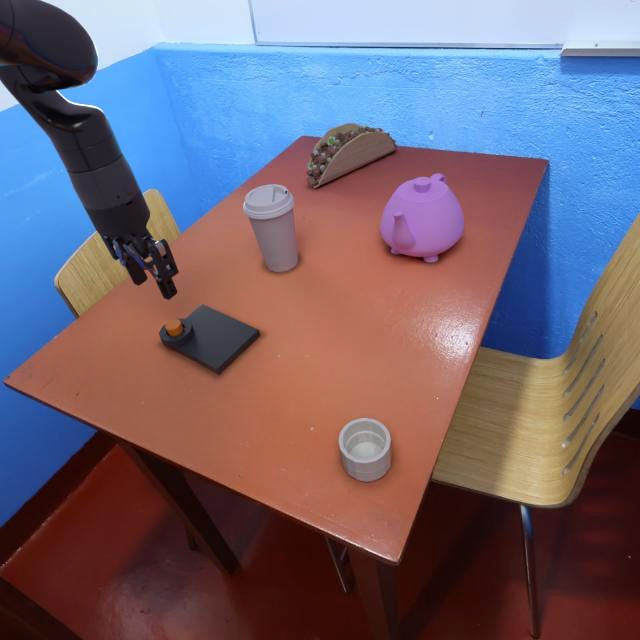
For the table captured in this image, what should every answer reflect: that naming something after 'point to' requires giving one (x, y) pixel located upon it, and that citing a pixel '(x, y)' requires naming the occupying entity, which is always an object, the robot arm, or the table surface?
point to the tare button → (174, 327)
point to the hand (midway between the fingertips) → (156, 289)
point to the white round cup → (365, 449)
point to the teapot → (422, 218)
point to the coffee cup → (273, 225)
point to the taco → (346, 151)
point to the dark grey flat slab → (211, 338)
